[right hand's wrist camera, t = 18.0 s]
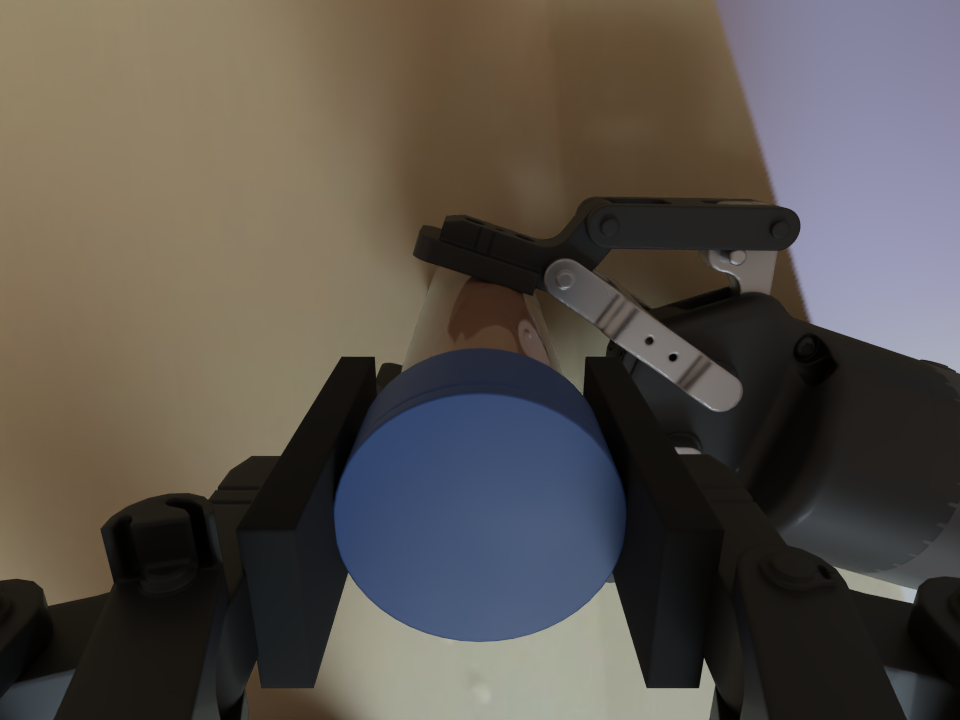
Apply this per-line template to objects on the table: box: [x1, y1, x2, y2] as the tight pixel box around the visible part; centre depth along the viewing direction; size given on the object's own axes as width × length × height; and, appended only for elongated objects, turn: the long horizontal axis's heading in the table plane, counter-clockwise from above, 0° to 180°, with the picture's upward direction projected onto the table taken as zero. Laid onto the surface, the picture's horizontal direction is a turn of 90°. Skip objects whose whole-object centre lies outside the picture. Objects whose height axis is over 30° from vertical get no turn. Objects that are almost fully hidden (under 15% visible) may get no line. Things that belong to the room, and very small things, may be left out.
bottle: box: [400, 266, 564, 376], centre depth 18 cm, size 4×4×15 cm
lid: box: [333, 348, 627, 642], centre depth 11 cm, size 5×5×2 cm
